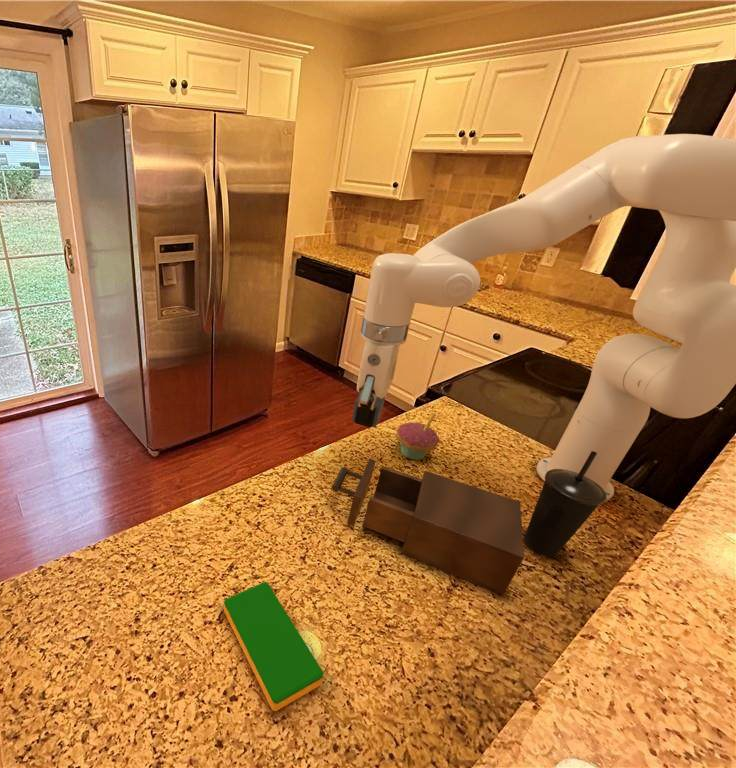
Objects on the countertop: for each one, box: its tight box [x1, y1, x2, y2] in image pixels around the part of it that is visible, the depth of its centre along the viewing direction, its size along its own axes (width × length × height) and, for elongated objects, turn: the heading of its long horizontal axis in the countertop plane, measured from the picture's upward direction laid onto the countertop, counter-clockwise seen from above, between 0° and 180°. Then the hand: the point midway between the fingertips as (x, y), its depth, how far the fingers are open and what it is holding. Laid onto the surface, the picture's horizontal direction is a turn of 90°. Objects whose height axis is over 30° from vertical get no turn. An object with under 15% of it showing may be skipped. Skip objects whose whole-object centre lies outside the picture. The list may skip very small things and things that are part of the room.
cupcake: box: [395, 411, 441, 461], centre depth 89 cm, size 9×8×12 cm
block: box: [351, 392, 386, 429], centre depth 78 cm, size 4×4×4 cm
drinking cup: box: [523, 451, 607, 558], centre depth 65 cm, size 8×8×20 cm
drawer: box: [331, 458, 422, 544], centre depth 73 cm, size 18×11×7 cm, turn 60°
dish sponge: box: [223, 581, 324, 712], centre depth 54 cm, size 7×14×2 cm, turn 25°
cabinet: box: [401, 470, 525, 596], centre depth 68 cm, size 15×13×9 cm
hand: (366, 417), depth 79 cm, fingers closed on block, 4 cm apart
